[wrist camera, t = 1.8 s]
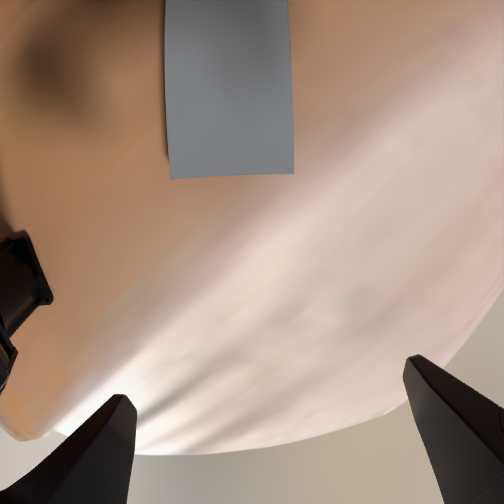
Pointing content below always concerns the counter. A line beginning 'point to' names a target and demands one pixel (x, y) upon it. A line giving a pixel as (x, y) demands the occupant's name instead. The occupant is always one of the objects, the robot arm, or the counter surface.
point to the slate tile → (228, 88)
